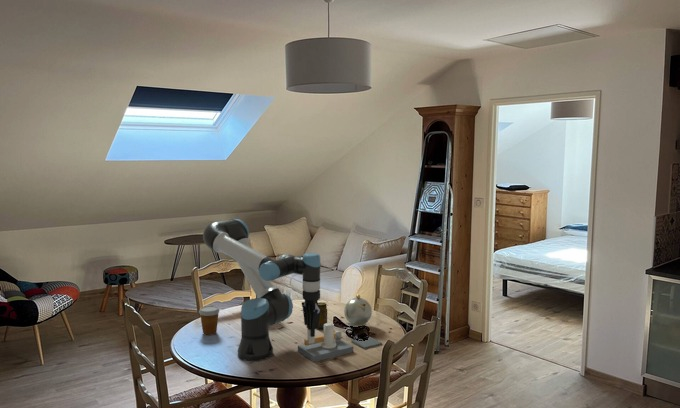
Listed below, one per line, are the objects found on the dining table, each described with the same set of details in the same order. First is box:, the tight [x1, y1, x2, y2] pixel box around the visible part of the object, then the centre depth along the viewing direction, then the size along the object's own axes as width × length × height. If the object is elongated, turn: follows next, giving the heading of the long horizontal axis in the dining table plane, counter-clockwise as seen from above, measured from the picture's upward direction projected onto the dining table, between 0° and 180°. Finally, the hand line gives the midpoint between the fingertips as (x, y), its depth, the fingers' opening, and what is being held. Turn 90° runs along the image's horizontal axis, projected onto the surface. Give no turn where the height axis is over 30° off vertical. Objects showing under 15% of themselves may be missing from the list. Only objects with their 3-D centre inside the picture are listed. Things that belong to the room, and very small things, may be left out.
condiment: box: [316, 301, 328, 332], centre depth 272 cm, size 7×8×12 cm
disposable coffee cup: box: [198, 305, 220, 336], centre depth 264 cm, size 10×10×12 cm
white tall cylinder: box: [321, 322, 336, 349], centre depth 241 cm, size 7×7×12 cm
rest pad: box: [351, 336, 383, 350], centre depth 252 cm, size 10×10×1 cm
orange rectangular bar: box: [303, 330, 342, 346], centre depth 244 cm, size 18×3×3 cm, turn 124°
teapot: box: [343, 294, 373, 327], centre depth 275 cm, size 18×14×16 cm
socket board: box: [297, 338, 354, 363], centre depth 242 cm, size 20×14×4 cm
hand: (311, 342), depth 238 cm, fingers closed
